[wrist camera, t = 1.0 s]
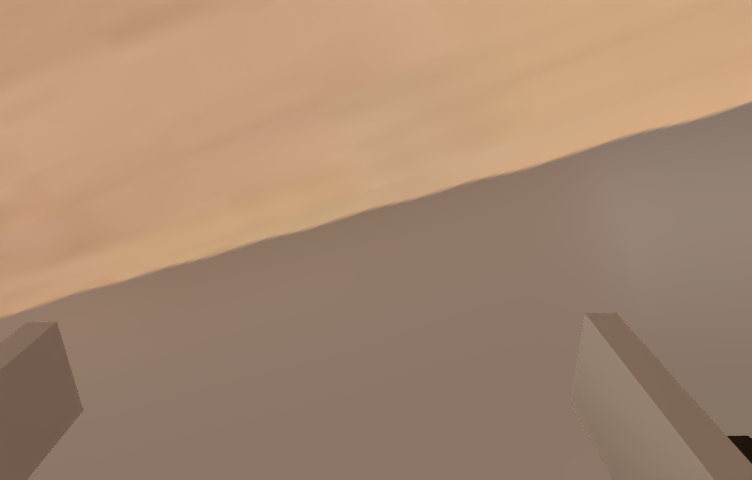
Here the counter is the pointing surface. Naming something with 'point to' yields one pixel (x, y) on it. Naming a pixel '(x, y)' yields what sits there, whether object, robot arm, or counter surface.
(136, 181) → the counter surface
